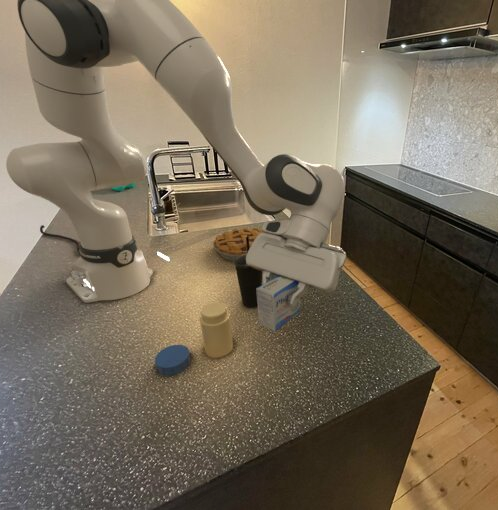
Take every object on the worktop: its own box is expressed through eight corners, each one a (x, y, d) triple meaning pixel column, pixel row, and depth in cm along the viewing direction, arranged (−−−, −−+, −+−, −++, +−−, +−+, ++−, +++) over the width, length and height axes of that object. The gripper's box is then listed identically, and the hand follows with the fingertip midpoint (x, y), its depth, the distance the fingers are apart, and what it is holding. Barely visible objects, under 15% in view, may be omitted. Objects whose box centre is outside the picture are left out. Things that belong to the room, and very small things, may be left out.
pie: (264, 234, 126) (263, 222, 124) (285, 256, 110) (285, 244, 108) (208, 243, 115) (206, 230, 113) (222, 269, 99) (221, 256, 97)
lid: (173, 379, 61) (171, 371, 60) (149, 368, 63) (147, 361, 62) (197, 358, 66) (195, 350, 65) (175, 348, 68) (173, 341, 67)
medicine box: (274, 332, 59) (273, 295, 55) (258, 323, 61) (255, 287, 57) (300, 312, 65) (300, 277, 61) (284, 304, 67) (283, 270, 63)
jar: (199, 354, 67) (192, 315, 62) (214, 336, 72) (208, 298, 67) (224, 360, 66) (219, 320, 61) (237, 341, 71) (234, 303, 66)
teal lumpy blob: (107, 190, 160) (102, 171, 155) (122, 185, 168) (117, 167, 164) (124, 192, 159) (119, 173, 154) (138, 188, 167) (134, 169, 163)
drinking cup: (240, 313, 80) (234, 245, 71) (235, 298, 86) (228, 233, 77) (269, 307, 84) (266, 241, 74) (261, 292, 89) (258, 229, 80)
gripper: (353, 255, 63) (328, 319, 59) (271, 233, 70) (245, 289, 66) (345, 243, 57) (318, 314, 53) (257, 220, 64) (228, 281, 61)
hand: (277, 300), depth 60 cm, fingers closed on medicine box, 4 cm apart
